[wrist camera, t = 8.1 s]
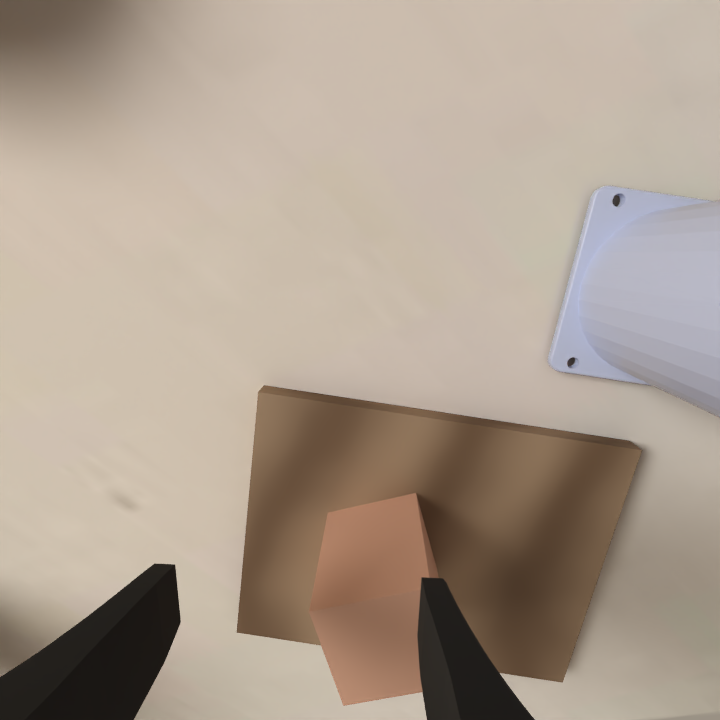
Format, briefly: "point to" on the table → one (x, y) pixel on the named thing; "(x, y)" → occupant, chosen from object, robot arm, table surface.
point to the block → (372, 597)
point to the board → (437, 515)
